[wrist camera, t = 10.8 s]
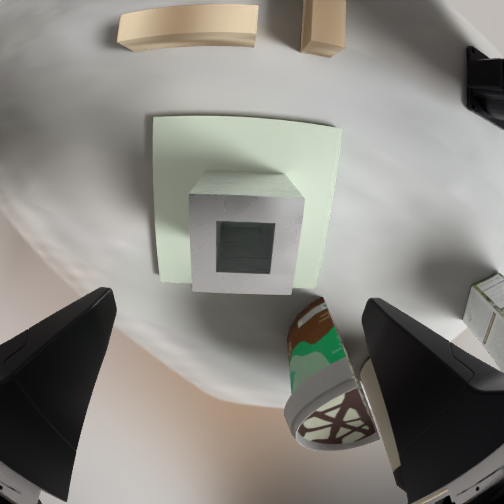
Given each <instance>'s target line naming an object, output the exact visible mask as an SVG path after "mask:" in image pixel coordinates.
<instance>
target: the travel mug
mask: <svg viewBox="0 0 504 504" xmlns="http://www.w3.org/2000/svg"><path fill="white" fill-rule="evenodd" d="M360 378H361V381H362V384H363V386H364V389H365V391H366V394H367V397H368V400H369V402H370V405H371V408H372V411H373V413H374V416H375V419H376V422H377V425H378V428H379V431H380V434H381V437H382V440H383V442H384V445H385V449H386V452H387V455H388V458H389V461H390V464H391V467H392V471H393V474H394V477H395V481H396V484H397V486H399V487H400V488H401V489H403V490H404V491H405V492H406V487H405V482H404V478H403V473H402V468H401V464H400V460H399V454H398V451H397V447H396V443H395V439H394V435H393V431H392V427H391V424H390V420H389V417H388V413H387V410H386V406H385V403H384V399H383V396H382V393H381V390H380V386H379V383H378V380H377V377H376V374H375V371H374V368H373V365H372V362H371V358H370V359H369V360H368V361H367V362H366V363H365V364H364V366H363V368H362V370H361V373H360ZM447 491H448V489H447V487H445V488H443V489H442V490H440V491H438V492H436V493H434V494H432V495H430V496H427V497H425V498H423V499H421V500H419V501H417V502H414V503H412V504H423V503H425V502H427V501H429V500H431V499H434V498H436V497H437V496H439V495H441V494H443V493H445V492H447ZM406 493H407V492H406ZM408 504H409V502H408Z"/></svg>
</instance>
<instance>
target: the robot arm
mask: <svg viewBox="0 0 504 504" xmlns="http://www.w3.org/2000/svg"><path fill="white" fill-rule="evenodd" d="M467 65H468V93H467V107H468V109H469V110H470V111H472V112H473V113H475V114H477V115H479V116H481V117H482V118H484V119H486V120H487V121H489V122H491V123H493V124H494V125H496V126H497V127H499V128H501V129H502V130H504V59H500V58H493V59H490V58H488V57H487V56H486V55H484V54H483V53H482V52H480V51H479V50H477V49H476V48H474V47H473V46H468V47H467ZM116 312H117V307H116V303H115V299H114V295H113V291H112V289H111V288H106V287H100V288H98V289H96V290H94V291H93V292H91V293H89V294H87V295H86V296H84V297H82V298H80V299H79V300H77V301H75V302H73V303H71V304H70V305H68V306H66V307H65V308H63V309H61V310H59V311H57V312H56V313H54V314H52V315H51V316H49V317H47V318H45V319H44V320H42V321H40V322H39V323H37V324H35V325H34V326H32V327H30V328H29V330H28V329H27V330H25V331H24V332H22V333H20V334H19V335H17V336H15V337H14V338H12V339H11V340H8V341H7V342H5V343H3V344H1V345H0V504H42V503H41V501H40V500H39V495H40V491H41V490H42V491H44V492H46V493H48V494H50V495H52V496H54V497H56V498H58V499H60V500H62V501H65V502H67V499H68V493H69V486H70V481H71V475H72V470H73V465H74V461H75V456H76V450H77V446H78V442H79V438H80V434H81V430H82V426H83V423H84V419H85V415H86V412H87V408H88V405H89V402H90V398H91V395H92V392H93V389H94V385H95V383H96V379H97V376H98V373H99V370H100V368H101V365H102V362H103V359H104V356H105V353H106V350H107V347H108V344H109V339H110V336H111V332H112V328H113V324H114V320H115V317H116ZM362 325H363V329H364V334H365V338H366V342H367V347H368V351H369V355H370V358H371V362H372V365H373V368H374V371H375V374H376V377H377V380H378V383H379V386H380V390H381V393H382V396H383V399H384V403H385V406H386V410H387V413H388V417H389V420H390V424H391V427H392V431H393V435H394V439H395V443H396V447H397V451H398V454H399V460H400V464H401V468H402V473H403V478H404V482H405V487H406V492H407V498H408V502H409V504H412V503H414V502H417V501H419V500H421V499H423V498H425V497H427V496H430V495H432V494H434V493H436V492H438V491H440V490H442V489H443V488H445V487H447V489H448V492H449V496H447V497H445V498H443V499H441V500H439V501H437V502H436V503H435V504H504V373H503V372H501V371H499V370H497V369H495V368H494V367H492V366H490V365H488V364H486V363H485V362H483V361H481V360H479V359H477V358H476V357H474V356H472V355H470V354H469V353H467V352H465V351H464V350H462V349H461V348H459V347H457V346H456V345H454V344H453V343H451V342H450V343H449V341H448V340H446V339H445V338H443V337H442V336H440V335H439V334H437V333H435V332H434V331H432V330H431V329H429V328H428V327H426V326H424V325H423V324H421V323H420V322H418V321H416V320H415V319H413V318H412V317H410V316H408V315H407V314H405V313H403V312H402V311H400V310H399V309H397V308H395V307H394V306H392V305H390V304H389V303H387V302H386V301H384V300H382V299H381V298H370V299H368V301H367V303H366V306H365V309H364V312H363V315H362Z"/></svg>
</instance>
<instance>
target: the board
mask: <svg viewBox="0 0 504 504" xmlns="http://www.w3.org/2000/svg"><path fill="white" fill-rule="evenodd" d="M341 137H342V129H341V128H336V127H330V126H323V125H317V124H310V123H303V122H295V121H286V120H276V119H265V118H251V117H233V116H165V117H153V197H154V217H155V232H156V245H157V256H158V267H159V276H160V282H170V283H186V284H192V275H191V255H190V227H189V193H190V191H191V190H192V189H193V187H194V186H195V184H196V183H197V182H198V180H199V179H200V177H201V176H202V175H203V173H204V172H205V171H206V170H225V171H249V172H267V173H281V174H285V175H286V176H287V177H288V178H289V179H290V181H291V182H292V183H293V184H294V186H295V187H296V188H297V189H298V191H299V192H300V193H301V194H302V196H303V197H304V198H305V205H304V213H303V221H302V228H301V235H300V242H299V249H298V256H297V262H296V269H295V275H294V282H293V288H316V285H317V281H318V276H319V271H320V266H321V262H322V257H323V252H324V247H325V241H326V236H327V231H328V225H329V219H330V214H331V208H332V202H333V195H334V189H335V182H336V175H337V168H338V161H339V153H340V145H341ZM223 226H226V227H251V228H262V223H258V222H234V221H223Z"/></svg>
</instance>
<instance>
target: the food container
mask: <svg viewBox="0 0 504 504" xmlns="http://www.w3.org/2000/svg"><path fill="white" fill-rule="evenodd" d="M287 342H288V354H289V367H290V380H291V393H292V395H291V396H290V398H289V400H288V401H287V403H286V406H285V409H284V416H285V419H286V421H287V424H288V426H289V429H290V431H291V433H292V435H293V436H294V437H295V439H296V440H297V442H298V443H299V444H300V445H301V446H303V447H305V448H308V449H311V450H317V451H337V450H345V449H350V448H355V447H358V446H362V445H365V444H368V443H371V442H374V441H376V440H379V439H380V438H379V435H378V432H377V429H376V426H375V423H374V420H373V417H372V415H371V412H370V409H369V406H368V403H367V400H366V398H365V395H364V392H363V390H362V387H361V384H360V382H359V379H358V376H357V374H356V371H355V368H354V366H353V363H352V361H351V358H350V356H349V353H348V351H347V349H346V347H345V344H344V342H343V340H342V338H341V335H340V333H339V331H338V329H337V326H336V324H335V322H334V320H333V318H332V315H331V313H330V311H329V309H328V307H327V304H326V302H325V300H324V298H323V297H322V298H321V299H319V300H317V301H315V302H313V303H311V304H310V305H309V306H308V307H307V308H306V309H304V310H303V311H302V312H301V313H300V314H299V315H298V316H297V317H296V319H295V320H294V322H293V323H292V325H291V326H290V329H289V334H288V338H287Z"/></svg>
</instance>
